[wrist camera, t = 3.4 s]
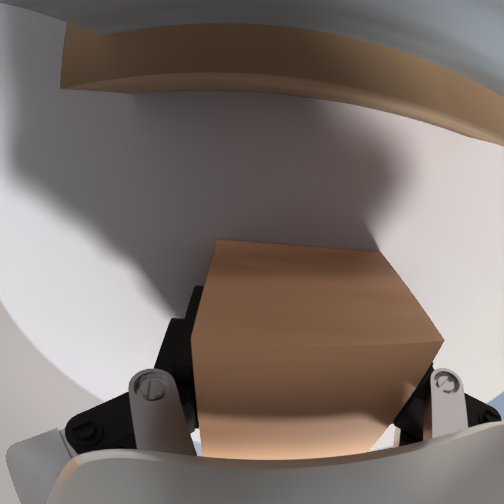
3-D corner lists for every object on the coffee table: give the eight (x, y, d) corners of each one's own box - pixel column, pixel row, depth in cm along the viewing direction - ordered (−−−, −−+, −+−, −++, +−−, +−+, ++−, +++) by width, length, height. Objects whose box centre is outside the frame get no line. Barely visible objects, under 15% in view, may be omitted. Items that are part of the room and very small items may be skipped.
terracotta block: (217, 238, 10) (191, 337, 6) (380, 251, 10) (444, 340, 6) (215, 360, 13) (203, 456, 8) (342, 364, 13) (366, 453, 9)
